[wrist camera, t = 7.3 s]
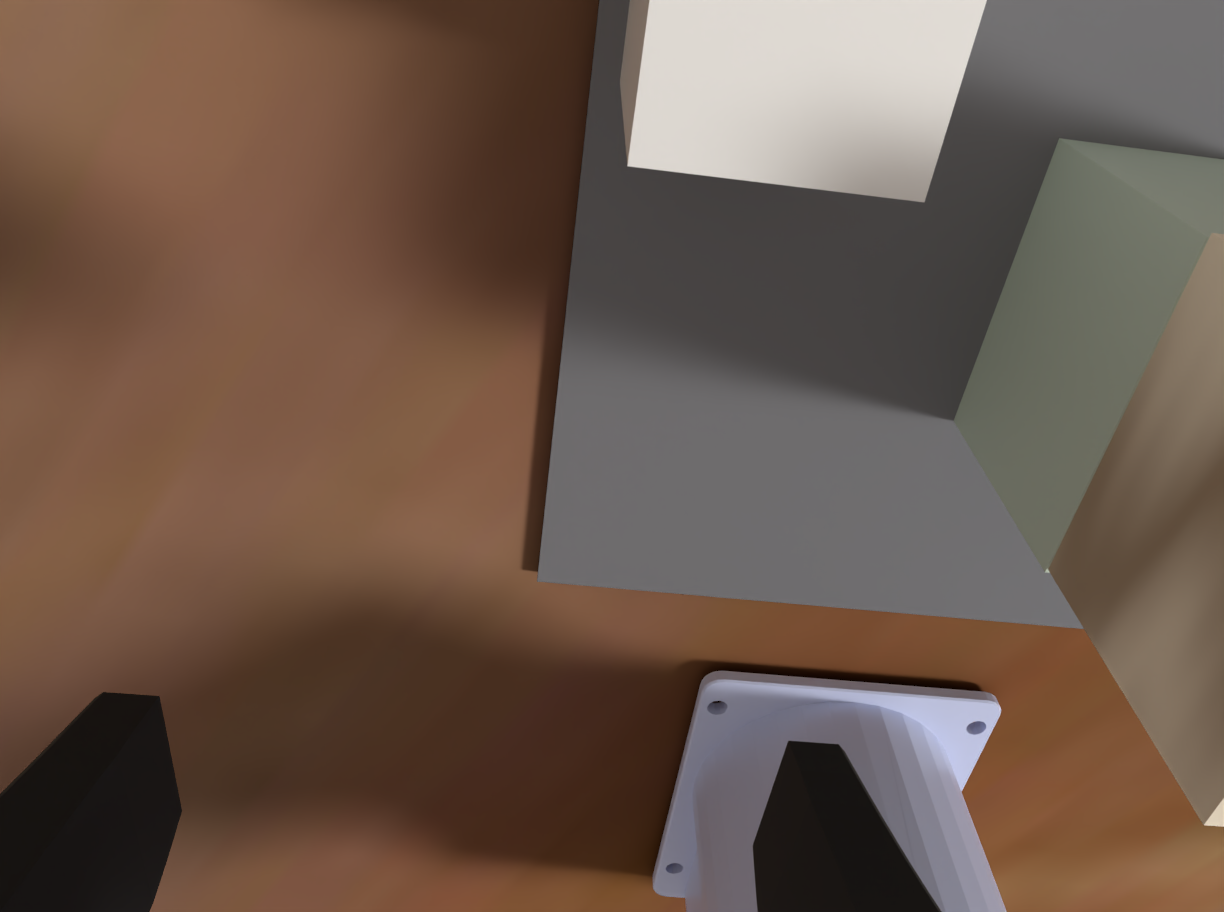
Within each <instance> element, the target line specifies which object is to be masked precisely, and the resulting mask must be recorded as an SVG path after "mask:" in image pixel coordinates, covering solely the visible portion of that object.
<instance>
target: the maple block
mask: <svg viewBox="0 0 1224 912" xmlns="http://www.w3.org/2000/svg"><path fill="white" fill-rule="evenodd" d="M1048 571H1049V572H1050V574H1051V575H1052V577H1053V579H1054V580H1055V582H1056V584H1057V585H1058V587H1059V589H1060V590H1061V592H1062V593H1063V595H1064V597H1065V598H1066V600H1067V602H1068V603H1069V605H1070V607H1071V608H1072V610H1073V612H1074V613H1075V615H1076V616H1077V618H1078V620H1079V621H1080V623H1081V625H1082V626H1083V628H1084V630H1085V631H1086V633H1087V635H1088V636H1089V638H1090V639H1091V641H1092V643H1093V644H1094V646H1095V648H1096V649H1097V651H1098V653H1099V654H1100V656H1101V658H1102V659H1103V661H1104V662H1105V664H1106V666H1107V667H1108V669H1109V671H1110V672H1111V674H1112V676H1113V677H1114V679H1115V680H1116V682H1117V684H1118V685H1119V687H1120V689H1121V690H1122V692H1123V694H1124V695H1125V697H1126V699H1127V700H1128V702H1129V703H1130V705H1131V707H1132V708H1133V710H1134V712H1135V713H1136V715H1137V717H1138V718H1139V720H1140V722H1141V723H1142V725H1143V726H1144V728H1145V730H1146V731H1147V733H1148V735H1149V736H1150V738H1151V740H1152V741H1153V743H1154V744H1155V746H1156V748H1157V749H1158V751H1159V753H1160V754H1161V756H1162V758H1163V759H1164V761H1165V763H1166V764H1167V766H1168V767H1169V769H1170V771H1171V772H1172V774H1173V776H1174V777H1175V779H1176V781H1177V782H1178V784H1179V786H1180V787H1181V789H1182V790H1183V792H1184V794H1185V795H1186V797H1187V799H1188V800H1189V802H1190V804H1191V805H1192V807H1193V808H1194V810H1195V812H1196V813H1197V815H1198V817H1199V818H1200V820H1201V822H1202V823H1203V825H1209V826H1223V827H1224V234H1218V233H1211V235H1210V237H1209V239H1208V241H1207V244H1206V246H1205V248H1204V250H1203V252H1202V254H1201V256H1200V258H1199V260H1198V262H1197V264H1196V266H1195V268H1194V270H1193V272H1192V274H1191V276H1190V279H1189V281H1188V283H1187V285H1186V287H1185V289H1184V291H1183V293H1182V295H1181V297H1180V299H1179V301H1178V303H1177V305H1176V307H1175V309H1174V311H1173V313H1172V316H1171V318H1170V320H1169V322H1168V324H1167V326H1166V328H1165V330H1164V332H1163V334H1162V336H1161V338H1160V340H1159V342H1158V344H1157V346H1156V348H1155V351H1154V353H1153V355H1152V357H1151V359H1150V361H1149V363H1148V365H1147V367H1146V369H1145V371H1144V373H1143V375H1142V377H1141V379H1140V381H1139V383H1138V386H1137V388H1136V390H1135V392H1134V394H1133V396H1132V398H1131V400H1130V402H1129V404H1128V406H1127V408H1126V410H1125V412H1124V414H1123V416H1122V418H1121V421H1120V423H1119V425H1118V427H1117V429H1116V431H1115V433H1114V435H1113V437H1112V439H1111V441H1110V443H1109V445H1108V447H1107V449H1106V451H1105V453H1104V456H1103V458H1102V460H1101V462H1100V464H1099V466H1098V468H1097V470H1096V472H1095V474H1094V476H1093V478H1092V480H1091V482H1090V484H1089V486H1088V488H1087V491H1086V493H1085V495H1084V497H1083V499H1082V501H1081V503H1080V505H1079V507H1078V509H1077V511H1076V513H1075V515H1074V517H1073V519H1072V521H1071V523H1070V525H1069V528H1068V530H1067V532H1066V534H1065V536H1064V538H1063V540H1062V542H1061V544H1060V546H1059V548H1058V550H1057V552H1056V554H1055V556H1054V558H1053V560H1052V563H1051V565H1050V567H1049V569H1048Z"/></svg>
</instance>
